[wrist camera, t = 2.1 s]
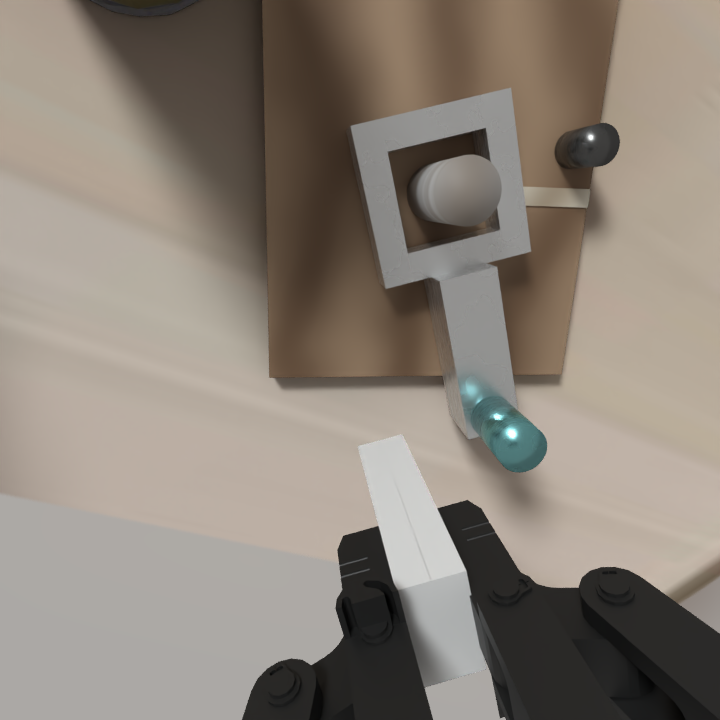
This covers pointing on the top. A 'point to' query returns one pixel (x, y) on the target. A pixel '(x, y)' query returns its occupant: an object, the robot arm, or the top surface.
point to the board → (419, 169)
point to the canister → (145, 6)
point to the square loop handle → (458, 264)
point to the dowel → (587, 146)
